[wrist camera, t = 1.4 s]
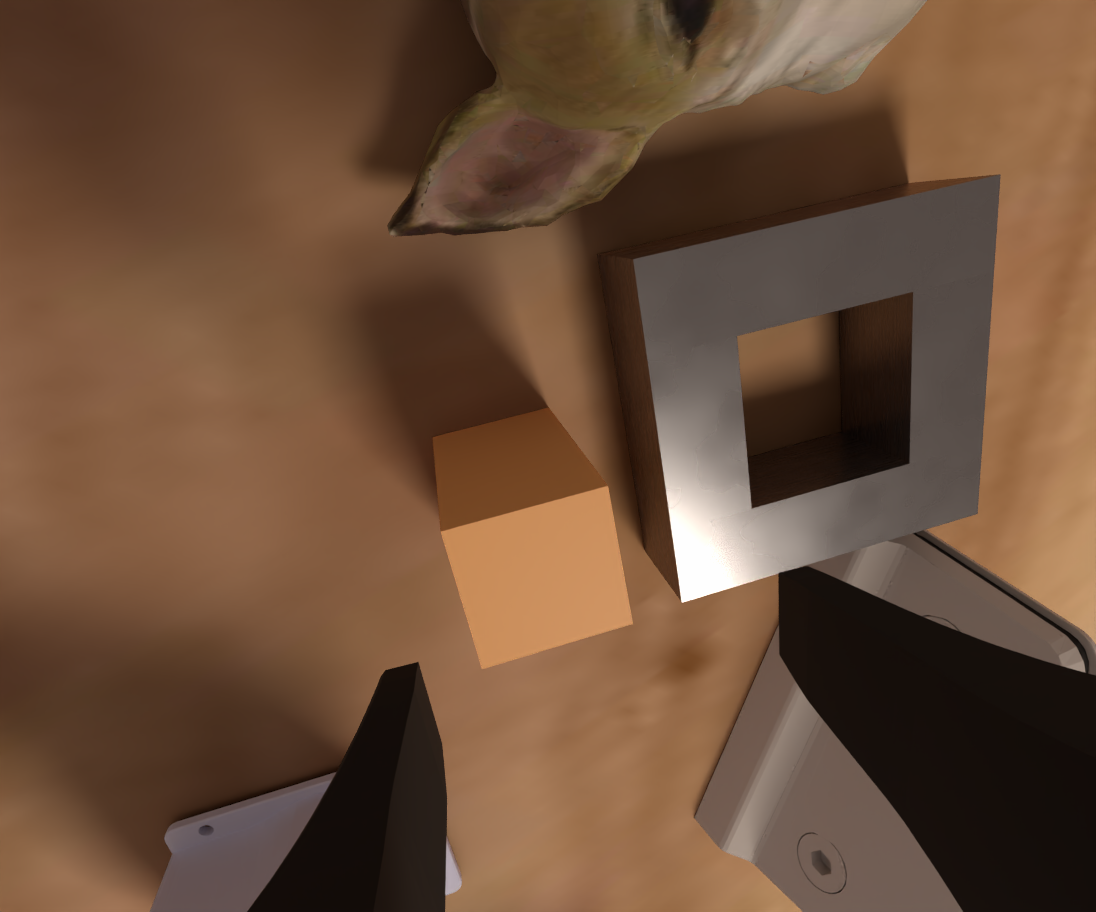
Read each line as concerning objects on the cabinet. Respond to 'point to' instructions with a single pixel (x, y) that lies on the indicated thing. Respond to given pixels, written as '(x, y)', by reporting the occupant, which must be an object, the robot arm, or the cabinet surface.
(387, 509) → the cabinet surface
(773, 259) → the socket block
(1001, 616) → the banded rounded wedge
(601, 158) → the ceramic sculpture
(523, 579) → the orange square-section block
